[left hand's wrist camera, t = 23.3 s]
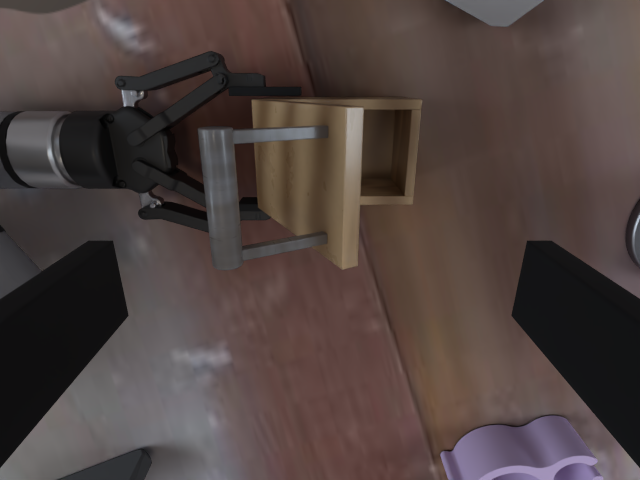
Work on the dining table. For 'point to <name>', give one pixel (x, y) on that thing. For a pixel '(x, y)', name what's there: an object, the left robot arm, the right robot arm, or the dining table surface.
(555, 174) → the dining table surface
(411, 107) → the chest
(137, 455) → the rounded dark grey slab
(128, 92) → the right robot arm
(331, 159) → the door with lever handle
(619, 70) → the dining table surface
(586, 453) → the purple wavy organizer
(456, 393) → the dining table surface
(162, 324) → the dining table surface
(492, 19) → the electronic device
